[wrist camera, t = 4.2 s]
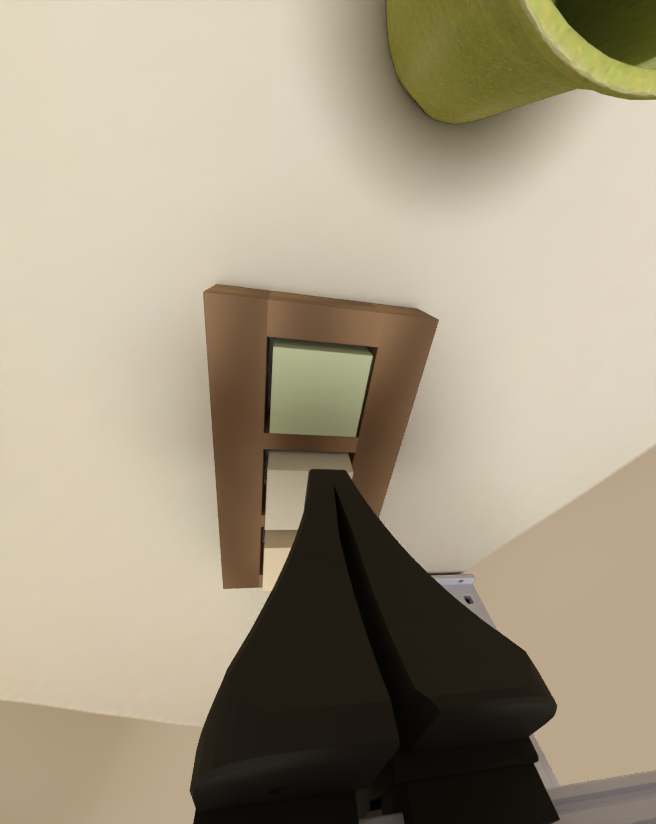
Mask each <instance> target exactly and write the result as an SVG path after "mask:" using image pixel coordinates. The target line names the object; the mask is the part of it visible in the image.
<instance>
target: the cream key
mask: <svg viewBox="0 0 656 824" xmlns="http://www.w3.org/2000/svg"><path fill="white" fill-rule="evenodd" d="M297 531H298V530H266V531H265V544H264V563H263V588H262V591H272V589H273V587H274V585H275V583H276V581H277V579H278V577H279V575H280V572H281V570H282V568H283V566H284V564H285V561H286V559H287V557H288V554H289V552H290V550H291V547H292V545H293V542H294V539H295V537H296V534H297Z"/></svg>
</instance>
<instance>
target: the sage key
mask: <svg viewBox="0 0 656 824" xmlns="http://www.w3.org/2000/svg"><path fill="white" fill-rule="evenodd" d="M372 357H373V356H372V354H371V353H370V352H369V350H368V349H367V347H366V346H360V345H350V344H340V343H329V342H319V341H309V340H299V339H288V338H278V337H275V338H274V345H273V363H272V386H271V410H270V433H278V434H300V435H322V436H344V437H356V433H357V428H358V423H359V419H360V414H361V409H362V404H363V400H364V395H365V390H366V385H367V381H368V376H369V371H370V366H371V362H372Z"/></svg>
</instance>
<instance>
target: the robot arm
mask: <svg viewBox="0 0 656 824" xmlns="http://www.w3.org/2000/svg"><path fill="white" fill-rule="evenodd" d="M474 581H475V578H474V576H473V575H472V574H458V575H429V574H428V573H427V572H426V571H425V570H424V569H423V568H422V567H421V566H420V565H419V564H418V563H417V562H416V561H415V560H414V559H413V558H412V557H411V556H410V555H409V553H408V552H407V551H406V550H405V549H404V548H403V547H402V546H401V545H400V544H399V542H398V541H397V540H396V539H395V538H394V537H393V535H392V534H391V533H390V532H389V531H388V529H387V528H386V527H385V526H384V524H383V523H382V522H381V521H380V519H379V518H378V517H377V515H376V514H375V513H374V511H373V510H372V509H371V507H370V506H369V505H368V503H367V502H366V500H365V499H364V497H363V496H362V494H361V493H360V491H359V490H358V488H357V487H356V485H355V484H354V482H353V481H352V479H351V477H350V476H349V474H348V473H347V471H346V470H336V469H311V470H310V471H309V473H308V481H307V488H306V496H305V504H304V512H303V516H302V519H301V522H300V525H299V528H298V531H297V534H296V537H295V539H294V542H293V545H292V547H291V550H290V552H289V554H288V557H287V559H286V561H285V564H284V566H283V568H282V570H281V572H280V575H279V577H278V579H277V581H276V583H275V585H274V587H273V589H272V591H271V593H270V595H269V597H268V599H267V601H266V603H265V605H264V607H263V608H262V610H261V612H260V614H259V616H258V618H257V620H256V621H255V623H254V625H253V627H252V629H251V630H250V632H249V634H248V636H247V637H246V639H245V641H244V642H243V644H242V646H241V647H240V649H239V651H238V652H237V654H236V656H235V657H234V659H233V661H232V662H231V664H230V666H229V667H228V669H227V671H226V673H225V676H224V679H223V681H222V683H221V686H220V688H219V690H218V692H217V695H216V697H215V699H214V702H213V704H212V706H211V709H210V711H209V714H208V716H207V719H206V721H205V724H204V727H203V729H202V732H201V736H200V739H199V743H198V746H197V750H196V756H195V762H194V768H193V774H192V781H191V786H190V793H191V796H192V799H193V802H194V804H195V807H196V811H195V817H194V823H193V824H656V770H654V771H648V772H642V773H636V774H630V775H624V776H618V777H612V778H606V779H600V780H594V781H588V782H581V783H576V784H570V785H563V786H560V785H559V783H558V781H557V779H556V777H555V775H554V773H553V771H552V769H551V767H550V765H549V763H548V761H547V759H546V757H545V755H544V753H543V752H542V750H541V748H540V746H539V744H538V742H537V741H536V739H535V737H534V735H533V733H534V732H535V731H537V730H538V729H539V728H541V727H542V726H543V725H545V724H546V723H547V722H548V721H549V720H550V719H551V718H553V717H554V715H555V713H556V709H557V704H556V702H555V700H554V698H553V697H552V695H551V693H550V691H549V690H548V688H547V686H546V685H545V683H544V681H543V679H542V677H541V675H540V674H539V672H538V670H537V669H536V667H535V665H534V664H533V663H532V661H531V659H530V658H529V656H528V655H527V653H526V651H524V650H523V649H522V648H520V647H519V646H517V645H516V644H515V643H513V642H512V641H510V640H509V639H508V638H507V637H505V636H503V635H502V634H501V633H500V632H498V631H497V629H496V627H495V625H494V624H493V621H492V620H491V618H490V616H489V614H488V612H487V610H486V609H485V607H484V605H483V603H482V601H481V599H480V597H479V595H478V594H477V592H476V590H475V588H474V586H473V585H472V584H473V583H474Z"/></svg>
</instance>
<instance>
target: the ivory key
mask: <svg viewBox="0 0 656 824" xmlns="http://www.w3.org/2000/svg"><path fill="white" fill-rule="evenodd" d="M311 469H336V470H346V471H347V473H348V474H349V476H350V477H351V479H352V477H353V469H352V465H351V461H350V458H349V454H348V452H329V451H302V450H275V449H269V458H268V468H267V490H266V515H265V530H298V528H299V525H300V522H301V519H302V516H303V512H304V504H305V496H306V488H307V481H308V473H309V471H310V470H311Z"/></svg>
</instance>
